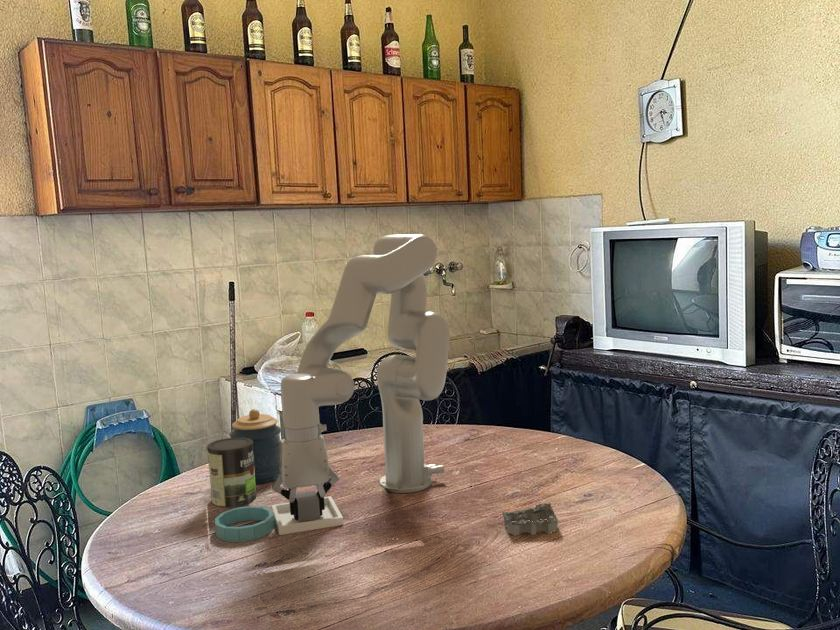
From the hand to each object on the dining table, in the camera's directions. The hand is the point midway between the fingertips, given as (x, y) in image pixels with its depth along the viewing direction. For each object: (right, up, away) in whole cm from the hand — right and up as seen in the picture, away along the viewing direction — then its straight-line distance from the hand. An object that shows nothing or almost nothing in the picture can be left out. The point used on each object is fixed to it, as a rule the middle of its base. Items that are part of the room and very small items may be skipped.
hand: (307, 514), depth 155 cm
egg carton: (+47, -1, -8) cm, 47 cm away
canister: (-17, +1, +30) cm, 35 cm away
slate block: (0, 0, 0) cm, 0 cm away
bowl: (-12, -2, -5) cm, 13 cm away
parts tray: (0, -1, 0) cm, 1 cm away
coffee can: (-19, -1, +13) cm, 23 cm away
